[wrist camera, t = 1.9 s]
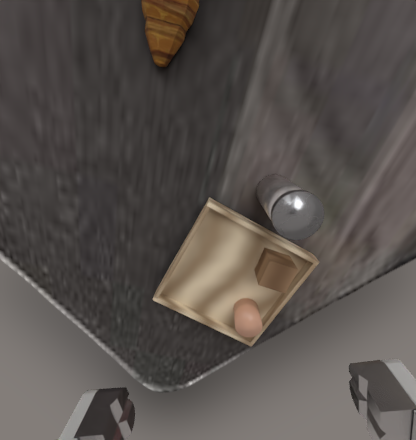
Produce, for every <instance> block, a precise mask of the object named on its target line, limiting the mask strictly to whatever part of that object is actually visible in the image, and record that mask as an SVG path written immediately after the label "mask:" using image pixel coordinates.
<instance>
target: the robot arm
mask: <svg viewBox="0 0 416 440" xmlns="http://www.w3.org/2000/svg"><path fill="white" fill-rule="evenodd" d="M349 372H350V374H351V376H352V379H351V380H350V381H349V385H350V392H351V396H352V399H353V401H354V404H355V406H356V408H357V410H358V412H359V414H360V415H362V416H363V417H364V418H365V419H366V420H367V430H368V432H369V434H370V436H371V438H372V440H416V379H415V378H414V377H413V376H412V374H411V373H410V372H409V371H408V370H407V368H406V367H405V366H404V365H403V363H402V362H401V361H400V360H398V359H389V360H381V361H380V360H376V361H367V362H360V363H351V364H350V365H349ZM128 395H129V392H128V390H127V388H126V387H123V388H111V389H96V390H87V391H86V392H85V393H84V394H83V395H82V397H81V399H80V401H79V403H78V404H77V406H76V408H75V410H74V412H73V414H72V416H71V418H70V419H69V421H68V423H67V425H66V427H65V429H64V430H63V432H62V435H61V436H60V438H59V439H58V440H126V439H127V437H128V436H129V435H130V434H131V433H132V430H133V426H134V421H135V407H134V404H133V402H132V401H130V400H129V399H128Z"/></svg>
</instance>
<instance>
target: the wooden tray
mask: <svg viewBox="0 0 416 440" xmlns="http://www.w3.org/2000/svg"><path fill="white" fill-rule="evenodd" d="M264 248H268V249H271V250H274V251H277V252H280V253H283V254H286V255H289V256H290V257H291V259H292V260H293V262H294V264H295V265H296V267H297V269H298V271H297V273H296V275H295V277H294V278H293V280H292V282H291V284H290V286H289V288H288V290H287V292H286V293H282V292H278V291H275V290H272V289H269V288H266V287H263V286H260V285H258V282H257V278H256V274H255V271H254V269H255V267H256V265H257V263H258V261H259V259H260V257H261V254H262V252H263V250H264ZM318 263H319V261H318V260H317V259H316V257H315V256H314V255H313V254H312V253H310V252H308V251H306V250H304V249H303V248H301V247H299V246H297V245H295V244H294V243H292V242H290V241H288V240H286V239H284V238H283V237H281V236H279V235H277V234H275V233H273V232H272V231H270V230H268V229H266V228H264V227H262V226H261V225H259V224H257V223H255V222H253V221H252V220H250V219H248V218H246V217H244V216H242V215H241V214H239V213H237V212H235V211H233V210H231V209H230V208H228V207H226V206H224V205H222V204H220V203H219V202H217V201H215V200H213V199H211V198H210V197H209V199H208V200H207V202H206V204H205V206H204V207H203V209H202V211H201V213H200V214H199V216H198V218H197V220H196V221H195V223H194V225H193V227H192V228H191V230H190V232H189V234H188V235H187V237H186V239H185V241H184V242H183V244H182V246H181V248H180V249H179V251H178V253H177V255H176V256H175V258H174V260H173V262H172V264H171V265H170V267H169V269H168V271H167V272H166V274H165V276H164V278H163V279H162V281H161V283H160V285H159V286H158V288H157V290H156V292H155V295H154V297H153V300H154V301H156V302H158V303H160V304H162V305H164V306H166V307H168V308H171V309H173V310H175V311H177V312H179V313H181V314H183V315H185V316H188V317H190V318H192V319H194V320H196V321H198V322H200V323H202V324H205V325H207V326H209V327H211V328H213V329H215V330H217V331H219V332H222V333H224V334H226V335H228V336H230V337H232V338H234V339H236V340H239V341H241V342H243V343H245V344H247V345H249V346H251V347H252V345H253V344H254V343H255V342H256V340H257V339H258V338H259V337H260V335H261V334H262V333H263V332H264V330H265V329H266V328H267V327H268V325H269V324H270V323H271V322H272V320H273V319H274V318H275V317H276V315H277V314H278V313H279V312H280V310H281V309H282V308H283V307H284V306H285V304H286V303H287V302H288V301H289V299H290V298H291V297H292V296H293V294H294V293H295V292H296V291H297V289H298V288H299V287H300V286H301V284H302V283H303V282H304V281H305V279H306V278H307V277H308V276H309V274H310V273H311V272H312V271H313V269H314V268H315V267H316V266H317V264H318ZM243 298H249V299H252V300H254V301H255V302H256V303H257V305H258V308H259V313H260V317H261V321H262V326H263V327H262V330H261V332H260V333H259V334H258V335H256V336H254V337H243V336H241V335H239V334H238V333H237V332H236V329H235V321H234V310H233V307H234V304H235V303H236V302H237V301H238V300H240V299H243Z"/></svg>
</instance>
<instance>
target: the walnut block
mask: <svg viewBox="0 0 416 440" xmlns="http://www.w3.org/2000/svg"><path fill="white" fill-rule="evenodd" d="M254 271H255V274H256V278H257V282H258V285H260V286H263V287H266V288H269V289H272V290H275V291H278V292H282V293H286V292H287V290H288V288H289V286H290V284H291V282H292V280H293V278H294V277H295V275H296V273H297V271H298V269H297V267H296V265H295V264H294V262H293V260H292V259H291V257H290V256H289V255H286V254H283V253H280V252H277V251H274V250H271V249H268V248H264V250H263V252H262V254H261V257H260V259H259V261H258V263H257V265H256V267H255V269H254Z"/></svg>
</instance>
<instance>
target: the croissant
mask: <svg viewBox="0 0 416 440" xmlns="http://www.w3.org/2000/svg"><path fill="white" fill-rule="evenodd" d="M141 2H142V11H143V14H144V17H145V20H146V25H145V33H146V37H147V41H148V45H149V48H150V52H151V55H152V57H153V60H154V63H155V64H156V65H158V66H160V67H167V65H168V64H169V62H170V61H171V59H172V58H173V56H174V55H175V53H176V52H177V50H178V49H179V48H180V46H181V45H182V43H183V42H184V39H185V34H186V31H187V30H188V29H189V28H190V26H191V25H192V23H193V20H194V18H195V15H196V13H197V10H198V7H199V0H141Z"/></svg>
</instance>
